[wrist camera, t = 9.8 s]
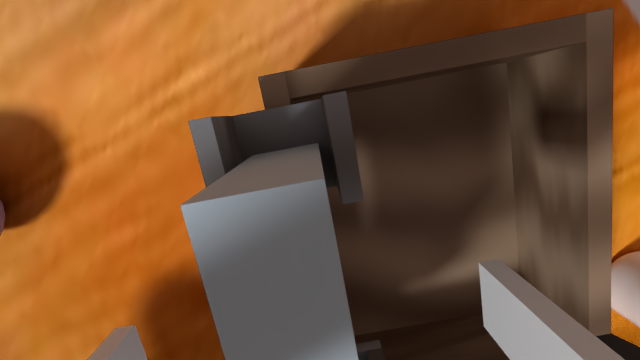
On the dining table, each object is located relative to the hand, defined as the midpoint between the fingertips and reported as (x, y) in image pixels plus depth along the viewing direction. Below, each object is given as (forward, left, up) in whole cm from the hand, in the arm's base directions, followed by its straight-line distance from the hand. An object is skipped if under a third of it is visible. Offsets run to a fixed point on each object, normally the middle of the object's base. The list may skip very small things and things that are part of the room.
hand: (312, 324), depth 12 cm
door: (+1, 0, -4) cm, 4 cm away
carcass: (0, +6, -11) cm, 13 cm away
